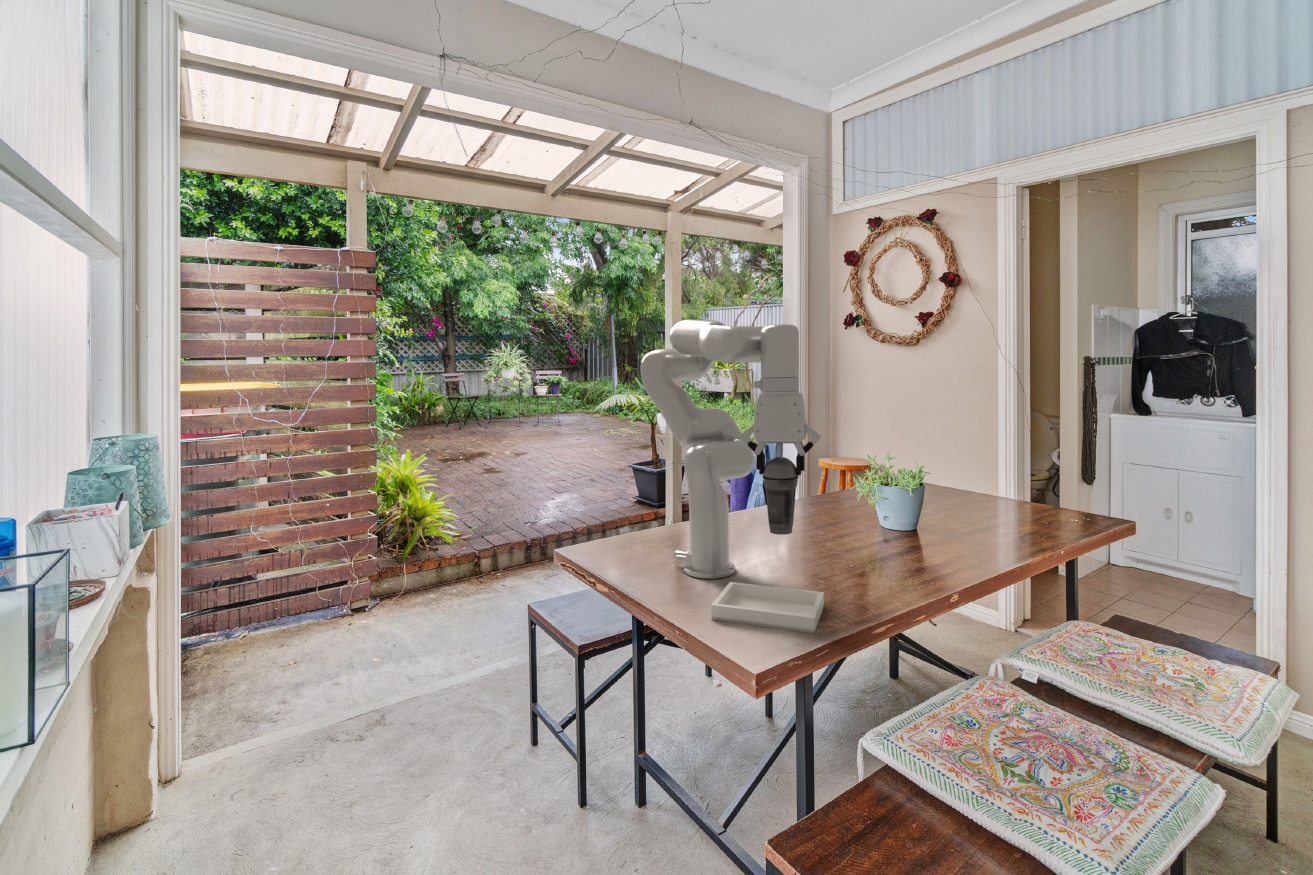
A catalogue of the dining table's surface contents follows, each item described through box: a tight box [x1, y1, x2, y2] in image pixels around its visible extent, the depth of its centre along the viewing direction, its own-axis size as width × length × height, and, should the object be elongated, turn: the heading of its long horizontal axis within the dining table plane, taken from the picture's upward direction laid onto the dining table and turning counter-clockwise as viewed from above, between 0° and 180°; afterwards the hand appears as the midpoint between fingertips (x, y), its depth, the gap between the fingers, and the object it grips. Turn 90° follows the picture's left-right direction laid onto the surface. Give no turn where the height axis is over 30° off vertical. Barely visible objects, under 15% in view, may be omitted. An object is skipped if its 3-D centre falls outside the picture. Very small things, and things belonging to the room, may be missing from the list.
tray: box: [710, 581, 825, 634], centre depth 127 cm, size 20×14×3 cm
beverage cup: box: [762, 443, 799, 536], centre depth 129 cm, size 7×7×20 cm
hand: (780, 473), depth 129 cm, fingers closed on beverage cup, 6 cm apart
